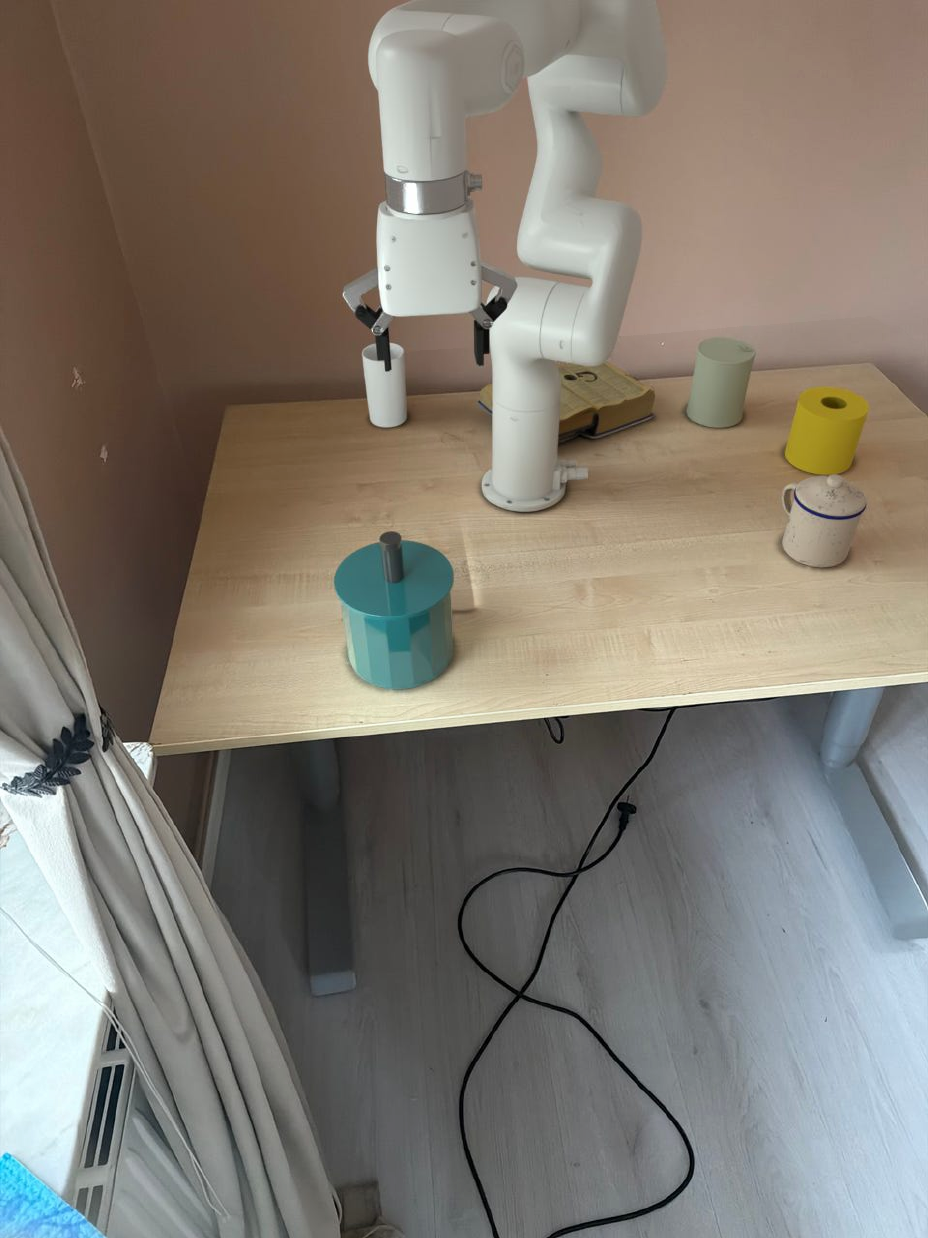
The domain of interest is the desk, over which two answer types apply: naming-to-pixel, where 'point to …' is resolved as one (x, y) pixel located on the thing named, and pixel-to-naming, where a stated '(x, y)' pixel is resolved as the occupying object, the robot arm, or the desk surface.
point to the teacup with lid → (821, 519)
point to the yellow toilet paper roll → (826, 430)
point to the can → (720, 381)
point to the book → (594, 401)
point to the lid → (393, 579)
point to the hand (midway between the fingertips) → (433, 362)
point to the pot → (400, 647)
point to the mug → (385, 387)
